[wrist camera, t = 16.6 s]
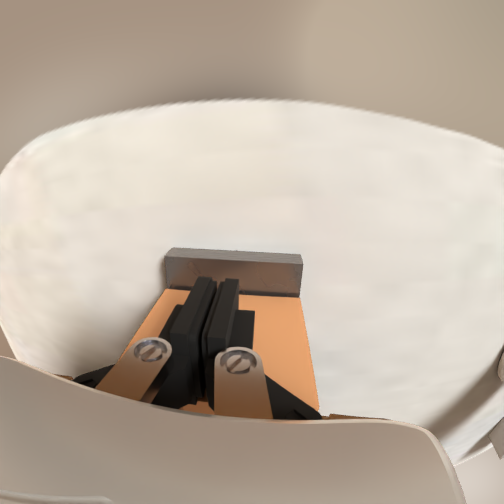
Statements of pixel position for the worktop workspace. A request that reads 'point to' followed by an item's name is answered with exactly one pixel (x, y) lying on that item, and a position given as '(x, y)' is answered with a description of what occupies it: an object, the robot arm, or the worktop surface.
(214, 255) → the grey bent bar
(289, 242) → the worktop surface
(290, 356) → the vise slide jaw
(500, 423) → the beige piece
